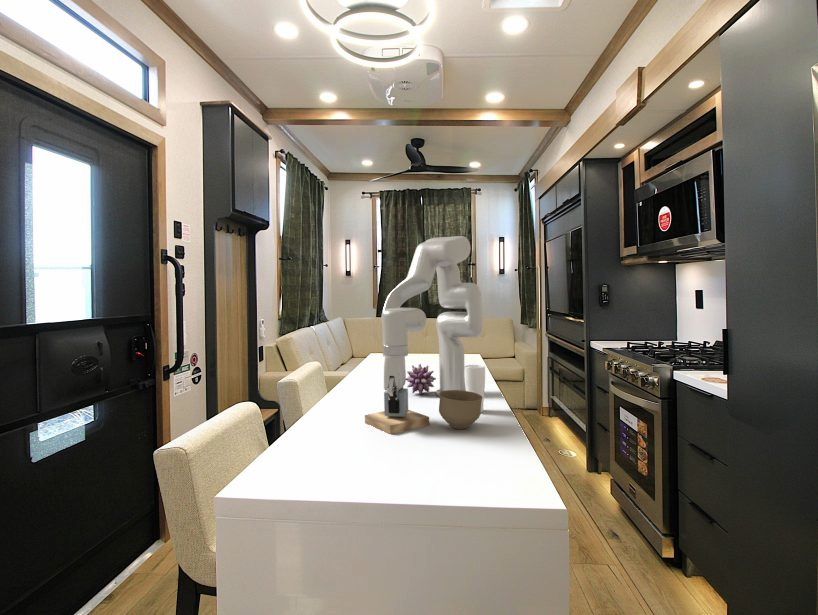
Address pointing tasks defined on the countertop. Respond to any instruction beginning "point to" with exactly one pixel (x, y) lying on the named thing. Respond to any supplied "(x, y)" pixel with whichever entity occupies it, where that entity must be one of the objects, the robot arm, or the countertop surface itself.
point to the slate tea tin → (402, 403)
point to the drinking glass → (475, 380)
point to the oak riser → (396, 421)
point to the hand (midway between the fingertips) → (396, 409)
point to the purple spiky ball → (420, 379)
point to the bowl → (459, 407)
